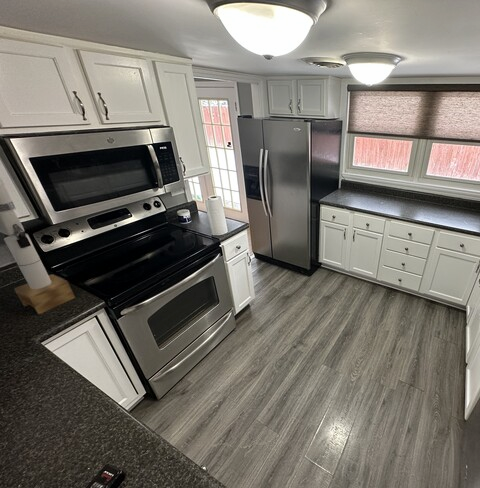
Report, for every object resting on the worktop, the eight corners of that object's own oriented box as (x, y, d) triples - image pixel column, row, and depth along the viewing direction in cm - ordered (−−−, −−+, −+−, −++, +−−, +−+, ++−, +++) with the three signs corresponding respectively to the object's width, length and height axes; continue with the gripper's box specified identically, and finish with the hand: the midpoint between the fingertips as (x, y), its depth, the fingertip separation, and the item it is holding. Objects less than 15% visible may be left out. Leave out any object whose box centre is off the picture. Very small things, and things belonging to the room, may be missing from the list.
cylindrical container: (32, 291, 120) (6, 241, 109) (28, 285, 124) (1, 237, 113) (53, 283, 126) (30, 236, 115) (48, 278, 129) (25, 232, 118)
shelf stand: (38, 314, 121) (29, 296, 116) (23, 305, 126) (13, 288, 121) (75, 297, 132) (67, 281, 128) (60, 290, 137) (52, 274, 133)
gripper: (-22, 206, 108) (-1, 243, 115) (-3, 213, 102) (18, 252, 109) (4, 202, 114) (22, 237, 122) (23, 208, 108) (41, 245, 115)
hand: (20, 244), depth 115 cm, fingers open, 9 cm apart
